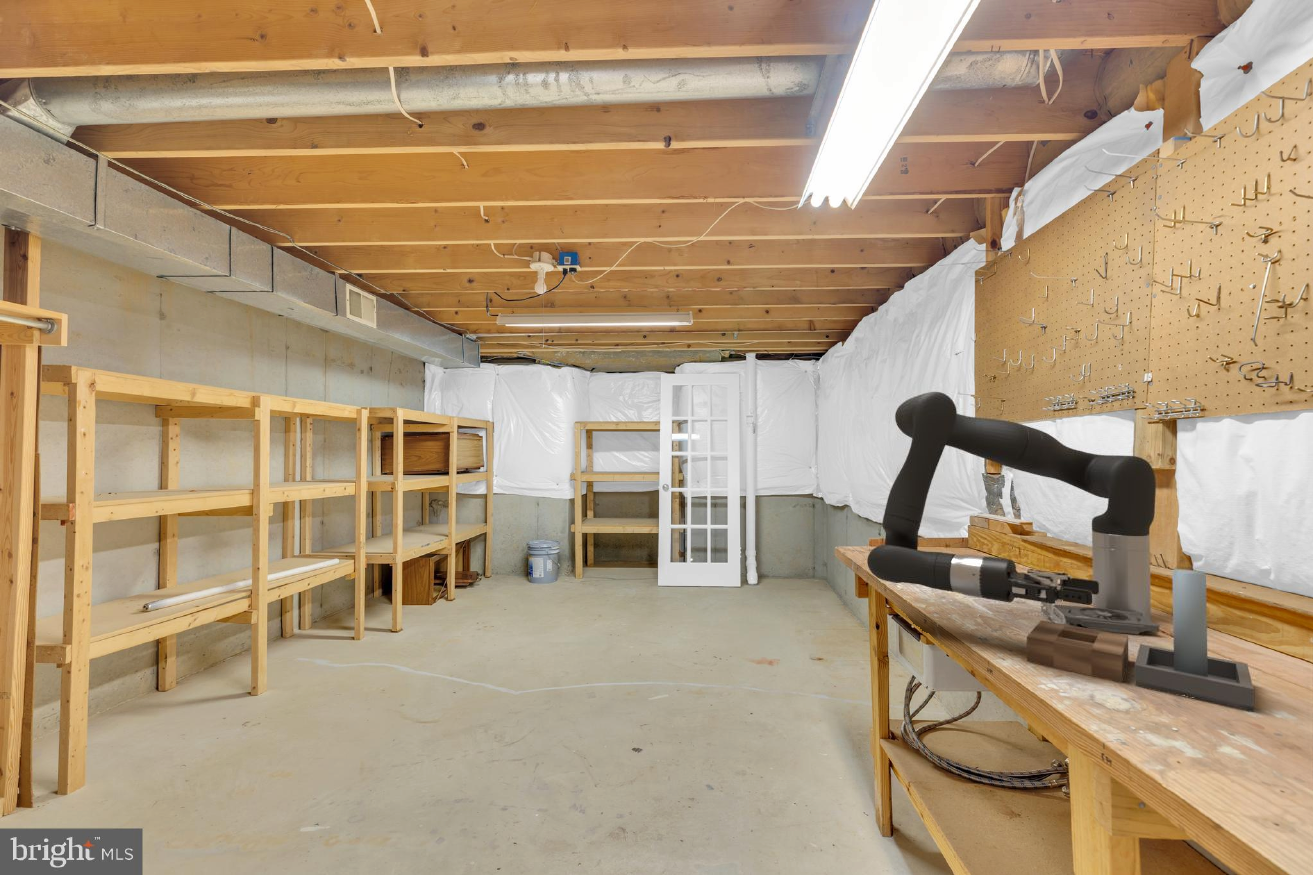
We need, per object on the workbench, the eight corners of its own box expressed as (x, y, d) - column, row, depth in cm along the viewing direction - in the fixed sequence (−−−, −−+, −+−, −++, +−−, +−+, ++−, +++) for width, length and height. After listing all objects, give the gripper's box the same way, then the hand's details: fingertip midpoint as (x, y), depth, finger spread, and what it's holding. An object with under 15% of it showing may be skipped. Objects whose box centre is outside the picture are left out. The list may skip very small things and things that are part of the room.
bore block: (1041, 642, 100) (1040, 620, 101) (1128, 660, 92) (1128, 635, 92) (1027, 661, 92) (1026, 636, 92) (1122, 682, 84) (1121, 655, 84)
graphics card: (1058, 616, 106) (1040, 598, 118) (1058, 635, 106) (1040, 616, 118) (1170, 627, 100) (1140, 607, 112) (1170, 648, 100) (1140, 626, 112)
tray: (1140, 662, 91) (1140, 643, 91) (1247, 683, 83) (1247, 663, 83) (1135, 685, 82) (1134, 664, 83) (1254, 711, 74) (1253, 689, 74)
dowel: (1174, 673, 85) (1172, 568, 86) (1207, 680, 83) (1205, 571, 83) (1174, 680, 83) (1172, 572, 83) (1208, 687, 80) (1206, 575, 80)
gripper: (971, 562, 97) (1089, 577, 85) (992, 550, 107) (1100, 562, 96) (972, 605, 96) (1090, 626, 85) (993, 590, 107) (1101, 606, 96)
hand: (1095, 592), depth 91 cm, fingers open, 8 cm apart
